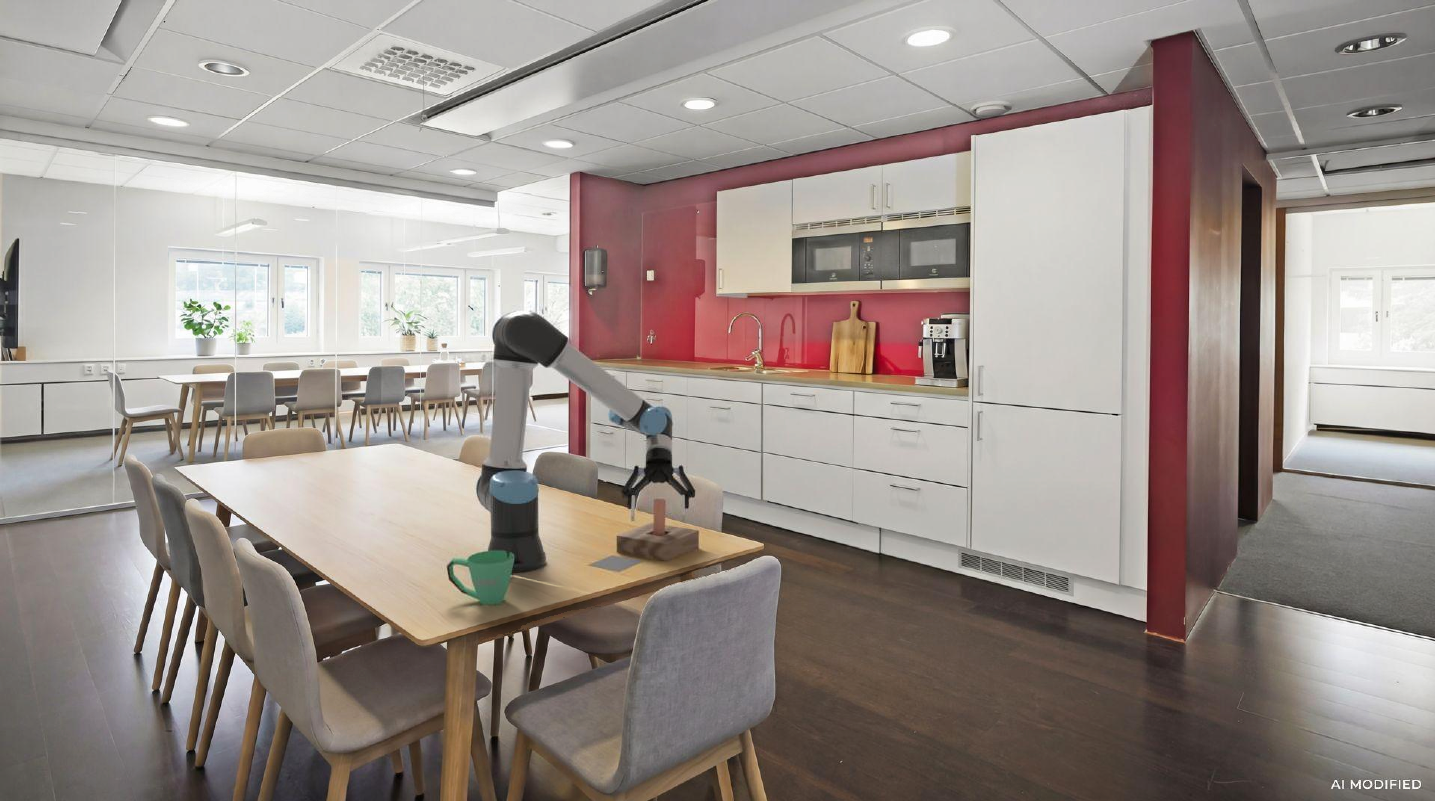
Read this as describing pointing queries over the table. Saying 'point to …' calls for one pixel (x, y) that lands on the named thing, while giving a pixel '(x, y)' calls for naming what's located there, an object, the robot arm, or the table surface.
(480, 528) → the table surface
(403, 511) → the table surface
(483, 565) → the mug
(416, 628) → the table surface
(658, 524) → the peg
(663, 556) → the hole block
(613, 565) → the mat
